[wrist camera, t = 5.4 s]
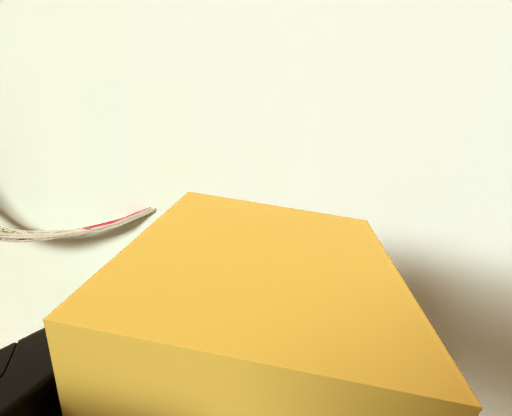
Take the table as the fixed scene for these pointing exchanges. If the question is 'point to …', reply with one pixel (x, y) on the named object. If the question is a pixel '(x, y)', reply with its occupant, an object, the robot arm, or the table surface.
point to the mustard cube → (251, 323)
